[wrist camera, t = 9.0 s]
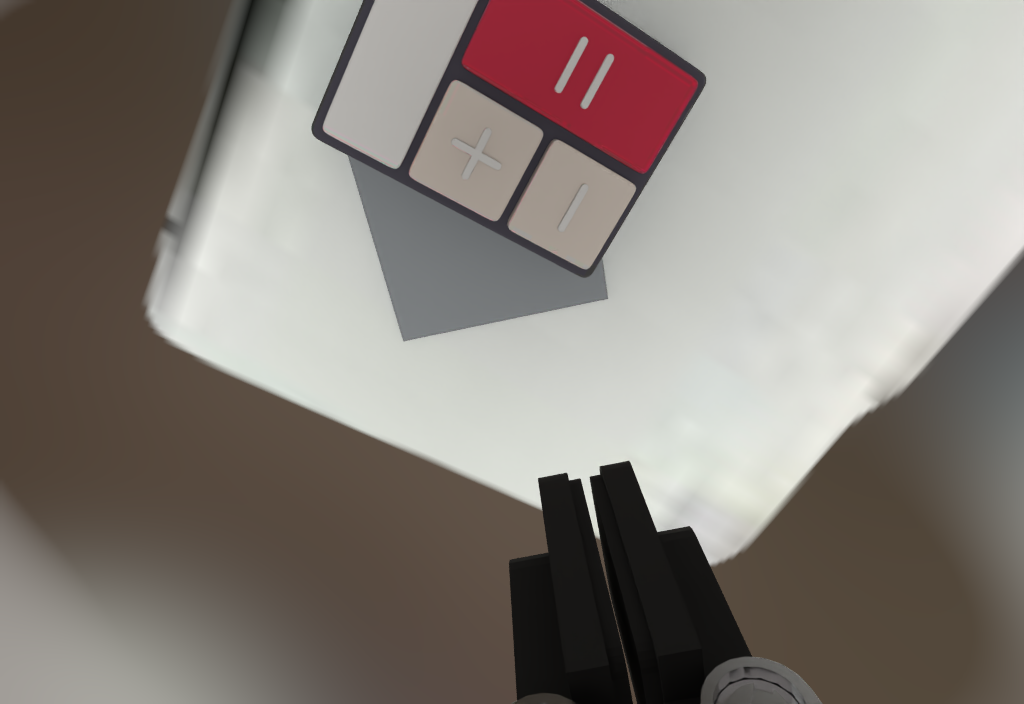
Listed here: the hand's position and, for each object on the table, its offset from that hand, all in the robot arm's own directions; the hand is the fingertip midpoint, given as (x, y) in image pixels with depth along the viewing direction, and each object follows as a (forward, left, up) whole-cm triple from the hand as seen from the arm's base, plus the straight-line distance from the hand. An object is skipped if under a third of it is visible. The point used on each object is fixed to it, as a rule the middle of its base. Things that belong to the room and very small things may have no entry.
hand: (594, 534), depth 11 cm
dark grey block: (-7, -1, -23) cm, 24 cm away
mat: (+2, 0, -25) cm, 25 cm away
